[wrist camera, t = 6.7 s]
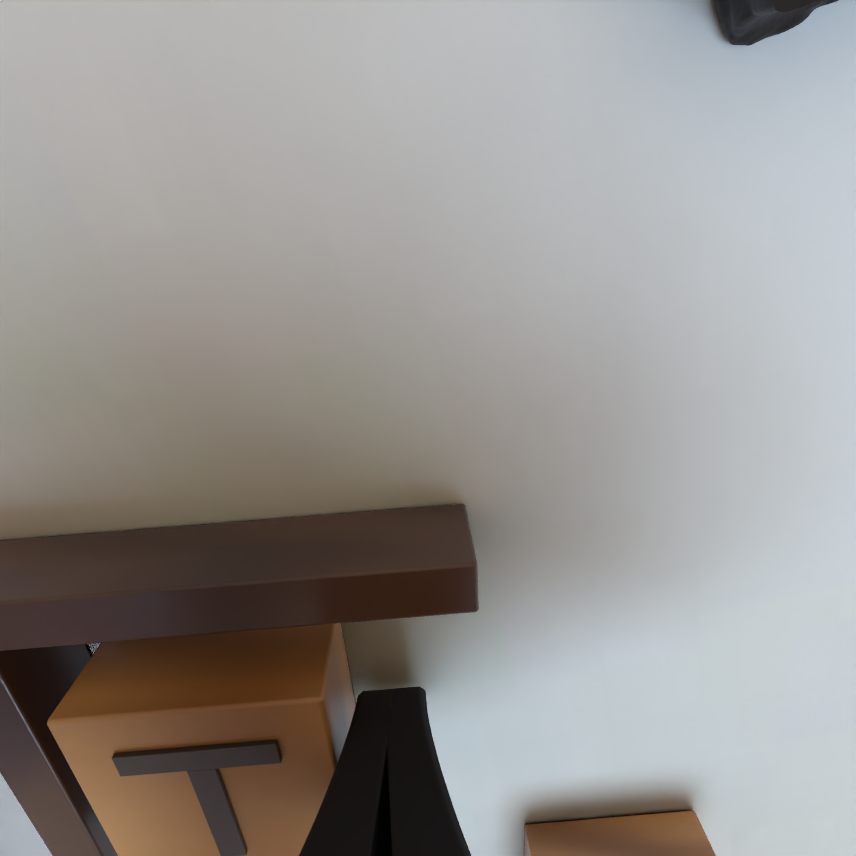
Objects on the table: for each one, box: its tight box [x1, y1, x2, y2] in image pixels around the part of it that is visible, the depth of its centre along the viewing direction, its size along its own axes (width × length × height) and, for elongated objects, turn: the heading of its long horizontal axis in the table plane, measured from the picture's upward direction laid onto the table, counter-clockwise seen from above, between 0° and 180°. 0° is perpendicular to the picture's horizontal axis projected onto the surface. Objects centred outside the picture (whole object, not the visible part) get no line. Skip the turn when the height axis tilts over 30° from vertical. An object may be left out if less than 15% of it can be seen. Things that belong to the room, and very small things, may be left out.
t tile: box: [47, 623, 356, 856], centre depth 10 cm, size 5×5×2 cm
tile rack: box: [0, 504, 479, 856], centre depth 12 cm, size 9×17×2 cm, turn 4°
